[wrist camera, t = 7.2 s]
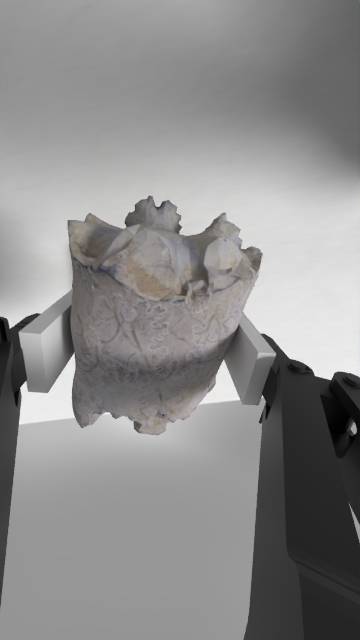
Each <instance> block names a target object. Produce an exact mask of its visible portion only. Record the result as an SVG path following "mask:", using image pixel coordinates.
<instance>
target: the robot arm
mask: <svg viewBox="0 0 360 640" xmlns="http://www.w3.org/2000/svg"><path fill="white" fill-rule="evenodd" d="M72 291H73V289H72V290H71V291H69V292H68V293H67V294H66V295H64V296H63V297H62V298H61V299H59V300H58V301H57V302H56V303H54V304H53V305H52V306H51V307H49V308H48V309H47V310H46V311H44V312H43V313H42V314H38V313H36V314H33V315H30V316H28V317H26V318H24V319H23V320H22V321H20V323H17V324H16V325H15V326H14V327H12V328H11V329H9V324H8V320H7V319H6V318H4V317H0V605H1V595H2V585H3V575H4V565H5V556H6V546H7V535H8V526H9V516H10V506H11V495H12V486H13V476H14V466H15V455H16V446H17V436H18V426H19V416H20V406H21V391H20V387H21V386H22V385H23V384H24V382H25V381H27V388H28V392H42V393H48V392H49V390H50V389H51V387H52V386H53V384H54V383H55V381H56V380H57V378H58V376H59V375H60V373H61V372H62V370H63V369H64V367H65V366H66V364H67V363H68V361H69V360H70V358H71V357H72V355H73V354H74V352H75V351H74V345H73V339H72V333H71V322H70V317H71V308H72ZM224 360H225V363H226V365H227V368H228V370H229V373H230V375H231V377H232V380H233V382H234V385H235V387H236V390H237V392H238V395H239V397H240V399H241V402H242V404H246V405H259V403H260V399H261V397H262V395H263V397H264V399H265V400H266V404H265V406H264V409H263V412H262V415H261V418H260V421H259V423H262V436H261V437H262V438H261V451H260V465H259V480H258V494H257V508H256V523H255V537H254V552H253V567H252V581H251V596H250V608H249V616H248V623H247V627H246V632H245V636H244V640H360V543H359V539H358V535H357V532H356V528H355V524H354V520H353V517H352V513H351V509H350V506H351V508H352V510H353V512H354V514H355V516H356V518H357V520H358V522H359V524H360V378H359V377H358V376H356V375H354V374H351V373H345V372H336V373H335V374H334V376H333V378H332V380H328V379H324V378H320V377H316V376H315V375H314V372H313V371H312V369H311V368H309V367H308V366H307V365H305V364H303V363H302V362H299V361H296V360H292V359H289V358H288V357H287V355H286V354H285V353H284V352H283V351H282V350H281V349H280V347H279V346H278V345H276V343H275V342H274V340H273V339H272V338H270V337H269V336H267V335H266V334H260V333H259V332H258V330H257V329H256V328H255V327H254V325H253V324H252V323H251V322H250V320H249V319H248V318H247V317H246V315H245V314H244V313H243V312H242V314H241V317H240V321H239V325H238V328H237V330H236V333H235V336H234V338H233V340H232V342H231V345H230V347H229V349H228V351H227V353H226V356H225V358H224ZM354 422H355V424H356V427H357V433H356V434H355V435H354V434H353V432H352V431H351V429H350V428H351V427H352V425H353V423H354ZM349 504H350V506H349Z"/></svg>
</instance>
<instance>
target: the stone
mask: <svg viewBox="0 0 360 640" xmlns="http://www.w3.org/2000/svg"><path fill="white" fill-rule="evenodd" d="M176 211H177V206H175V205H173V204H172V203H171V202H170V201H169V200H167V201H163V202H162V204H161V206H160V207H156V206H155V204H154V200H153V196H148V198H147V199H145V200H141V201H139V202H138V203H137V204H135V211H134V212H132V213H130V212H129V214H128V215H127V217H126V219H125V224H126V226H127V227H126V228H125V229H121V228H118V227H115V226H112V225H110V224H108V223H106V222H104V221H102V220H100V219H99V218H97V217H96V216H94V215H93V214H91V213H89V214H88V215H87V216H86V219H85V222H82V221H76V220H68V234H69V247H70V252H71V258H72V266H73V283H72V288H73V291H72V308H71V317H70V322H71V333H72V339H73V345H74V351H75V362H76V370H75V374H74V379H73V387H72V406H73V411H74V415H75V418H76V420H77V422H78V424H79V425H80V426H81V428H84V427H86V426H89V425H92V424H93V423H94V422H95V421H96V420H97V419H98V417H99V416H100V415H102V414H104V413H105V412H110V413H111V415H112V417H114V418H115V419H117V418H119V417H121V416H127V417H128V418H129V419H130V420H131V421H134V429H135V430H136V431H137V432H138V433H143V434H151V435H159V434H161V433H163V432H164V431H166V424H167V423H169V422H173V423H174V422H175V421H176V420H177V419H182V420H185V419H186V418H188V417H189V416H190V413H192V412H193V411H194V410H195V409H196V406H197V405H198V404H199V403H200V402H201V401H202V400H203V398H204V397H205V396H206V394H207V393H208V392H210V391H211V390H212V388H213V387H214V385H215V382H216V374H217V372H218V369H219V367H220V365H221V363H222V361H223V359H224V358H225V356H226V353H227V351H228V349H229V347H230V345H231V342H232V340H233V338H234V336H235V333H236V330H237V328H238V325H239V321H240V317H241V314H242V311H243V309H244V306H245V304H246V301H247V299H248V297H249V295H250V293H251V291H252V289H253V287H254V284H255V281H256V280H257V278H258V274H259V268H260V263H261V259H262V256H263V254H262V252H261V251H260V249H258V248H255V247H252V246H251V247H249V248H247V249H246V250H245V249H241V245H242V240H241V239H240V238H239V237H238V234H239V232H240V229H239V228H238V227H237V226H235V225H234V224H233V223H231V222H228V221H227V218H226V213H222V214H221V215H220V216H219V217H218V218H216V219H214V221H213V223H212V224H211V225H210V226H209V227H208V228H206V229H205V231H204V232H202V233H200V234H197V235H191V236H184V235H180V234H179V231H180V230H181V226H180V225H179V224H178V223H179V221H180V220H181V215H179V214H177V213H176Z"/></svg>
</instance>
